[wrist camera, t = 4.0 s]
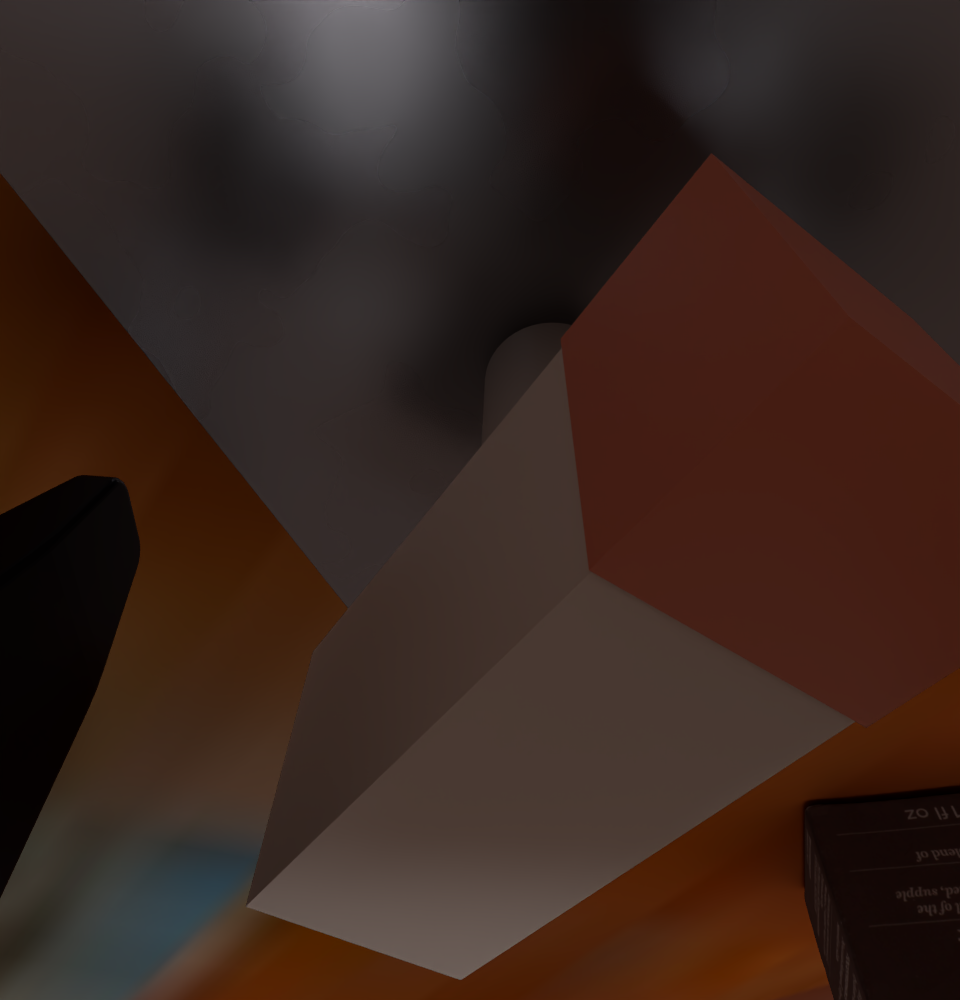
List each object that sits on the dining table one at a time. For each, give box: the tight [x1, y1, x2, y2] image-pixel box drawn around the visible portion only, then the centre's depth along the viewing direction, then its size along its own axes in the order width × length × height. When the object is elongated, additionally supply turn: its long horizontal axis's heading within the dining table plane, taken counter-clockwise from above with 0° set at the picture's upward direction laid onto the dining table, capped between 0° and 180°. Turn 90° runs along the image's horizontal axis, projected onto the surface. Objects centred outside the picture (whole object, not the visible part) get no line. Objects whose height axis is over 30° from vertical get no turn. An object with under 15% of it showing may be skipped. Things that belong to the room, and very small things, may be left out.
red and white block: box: [246, 153, 960, 980], centre depth 9 cm, size 7×2×6 cm, turn 146°
